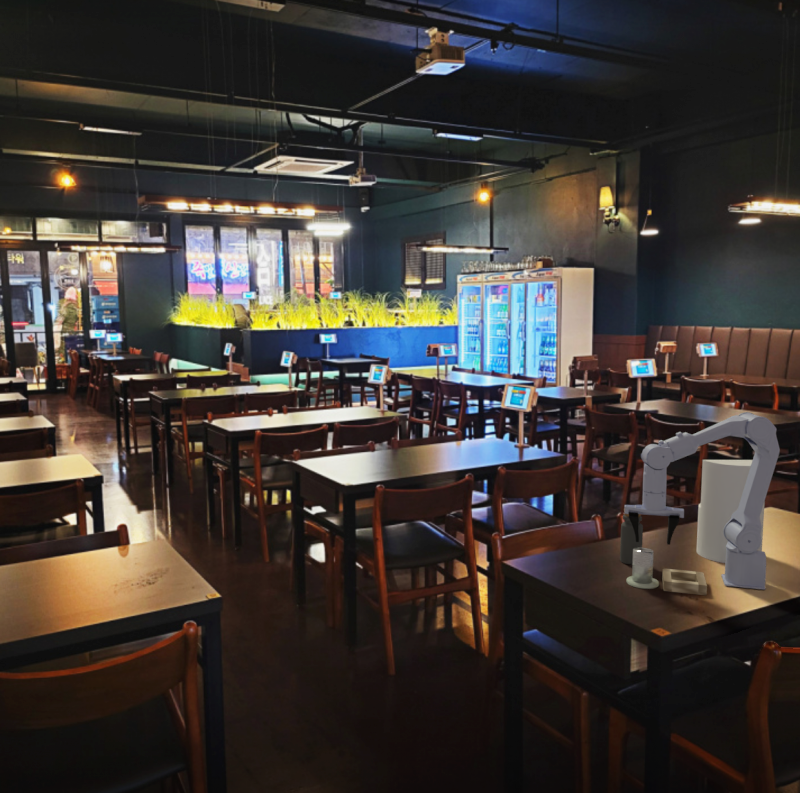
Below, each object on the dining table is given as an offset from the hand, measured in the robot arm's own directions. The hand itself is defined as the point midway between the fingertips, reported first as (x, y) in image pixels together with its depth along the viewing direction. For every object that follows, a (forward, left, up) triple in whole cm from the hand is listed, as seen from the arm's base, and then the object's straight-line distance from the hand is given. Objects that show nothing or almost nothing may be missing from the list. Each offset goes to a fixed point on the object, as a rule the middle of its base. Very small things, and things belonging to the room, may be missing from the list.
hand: (652, 542), depth 189 cm
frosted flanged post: (+2, +3, -10) cm, 10 cm away
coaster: (+2, +3, -10) cm, 11 cm away
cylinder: (-22, -29, -11) cm, 38 cm away
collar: (-8, +2, -10) cm, 13 cm away
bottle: (+5, -14, -11) cm, 18 cm away
